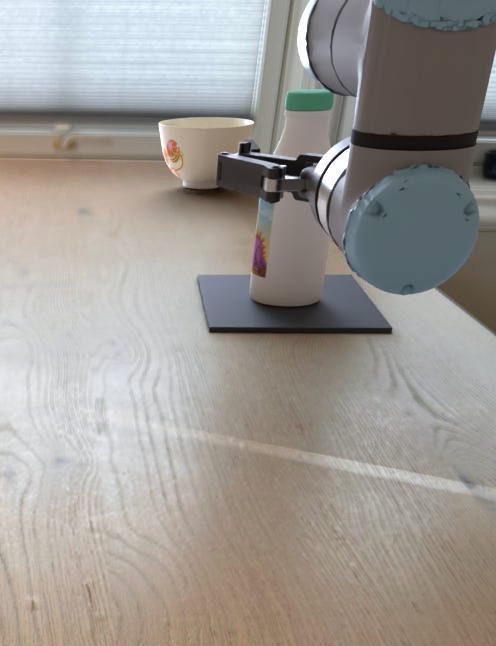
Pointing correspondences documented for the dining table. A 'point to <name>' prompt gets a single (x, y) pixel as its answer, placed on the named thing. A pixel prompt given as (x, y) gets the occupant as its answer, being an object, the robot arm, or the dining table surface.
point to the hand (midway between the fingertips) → (322, 154)
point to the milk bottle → (293, 214)
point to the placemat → (289, 308)
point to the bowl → (201, 146)
